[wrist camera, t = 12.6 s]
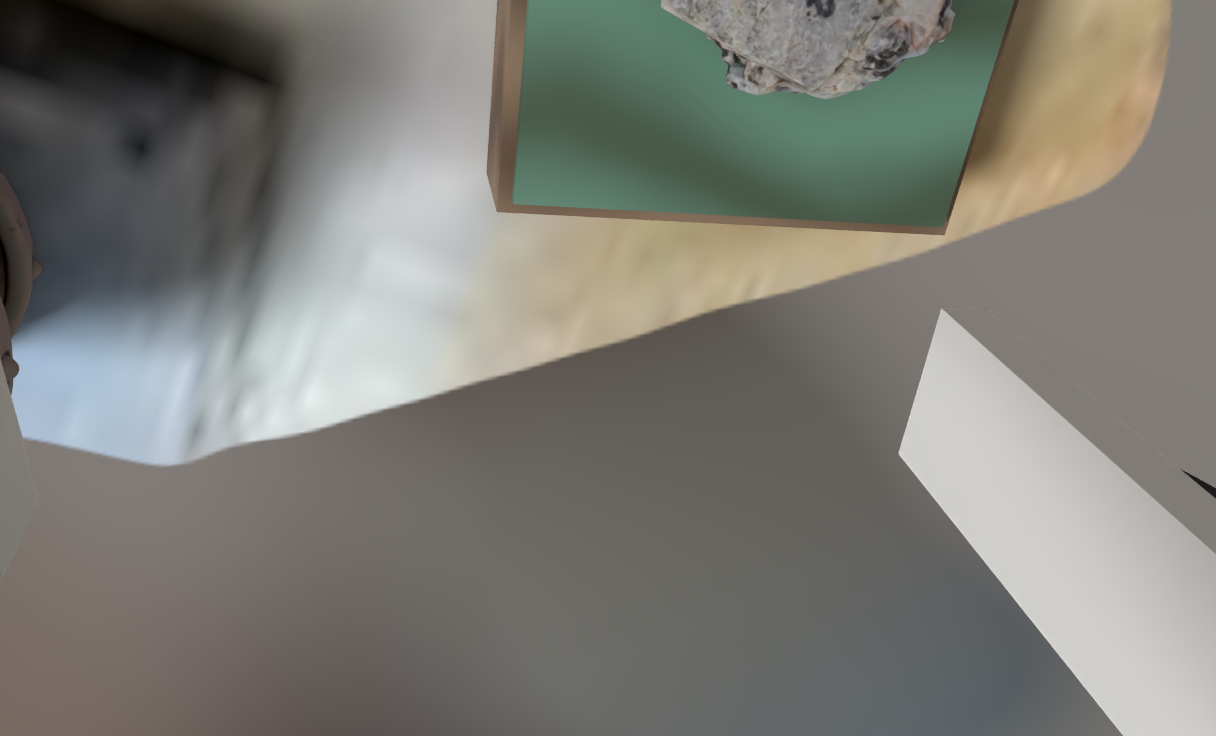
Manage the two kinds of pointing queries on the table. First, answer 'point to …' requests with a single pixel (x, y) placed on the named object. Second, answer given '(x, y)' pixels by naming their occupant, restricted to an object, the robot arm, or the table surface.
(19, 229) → the flowerpot
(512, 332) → the table surface
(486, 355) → the table surface
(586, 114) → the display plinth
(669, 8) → the mineral specimen
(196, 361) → the table surface
